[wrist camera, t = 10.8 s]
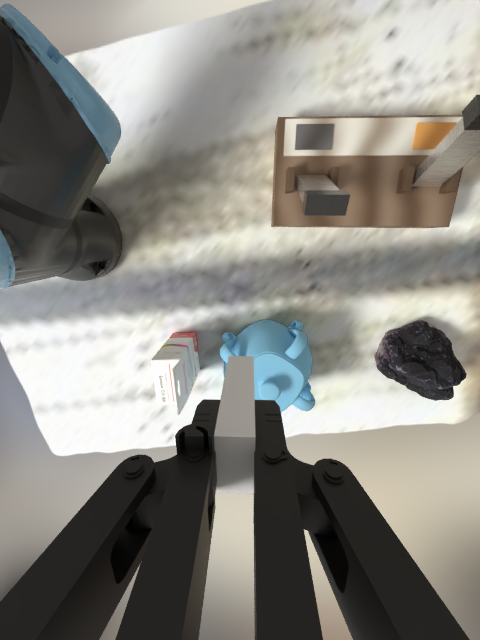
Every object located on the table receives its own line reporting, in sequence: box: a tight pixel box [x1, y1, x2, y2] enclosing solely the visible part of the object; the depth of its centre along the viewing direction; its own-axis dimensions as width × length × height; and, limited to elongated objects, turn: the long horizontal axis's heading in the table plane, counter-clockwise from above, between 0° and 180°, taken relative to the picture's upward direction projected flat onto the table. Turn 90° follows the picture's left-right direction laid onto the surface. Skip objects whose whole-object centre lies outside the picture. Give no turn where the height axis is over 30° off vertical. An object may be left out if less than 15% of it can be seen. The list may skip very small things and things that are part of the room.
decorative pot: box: [220, 320, 315, 412], centre depth 46 cm, size 16×16×14 cm
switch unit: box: [271, 115, 463, 228], centre depth 39 cm, size 26×14×7 cm, turn 90°
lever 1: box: [296, 175, 350, 216], centre depth 33 cm, size 5×2×12 cm, turn 90°
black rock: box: [375, 321, 467, 400], centre depth 47 cm, size 13×14×10 cm
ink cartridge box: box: [151, 333, 200, 415], centre depth 46 cm, size 9×5×15 cm, turn 3°
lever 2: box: [412, 95, 480, 187], centre depth 31 cm, size 5×2×12 cm, turn 90°
